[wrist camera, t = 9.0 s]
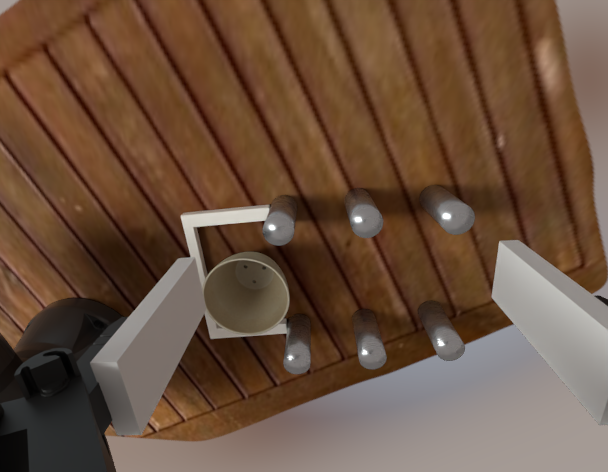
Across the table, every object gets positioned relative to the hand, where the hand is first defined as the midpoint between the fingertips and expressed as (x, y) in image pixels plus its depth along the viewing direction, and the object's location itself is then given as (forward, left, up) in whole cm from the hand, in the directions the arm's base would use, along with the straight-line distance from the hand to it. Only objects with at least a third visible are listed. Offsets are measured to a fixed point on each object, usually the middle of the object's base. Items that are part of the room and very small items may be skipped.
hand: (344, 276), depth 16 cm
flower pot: (-10, -13, -28) cm, 33 cm away
